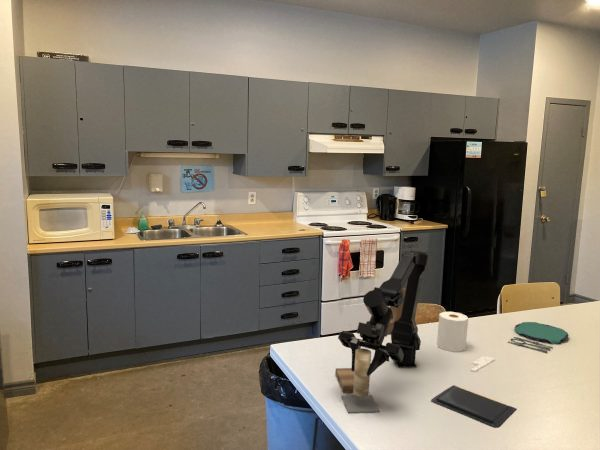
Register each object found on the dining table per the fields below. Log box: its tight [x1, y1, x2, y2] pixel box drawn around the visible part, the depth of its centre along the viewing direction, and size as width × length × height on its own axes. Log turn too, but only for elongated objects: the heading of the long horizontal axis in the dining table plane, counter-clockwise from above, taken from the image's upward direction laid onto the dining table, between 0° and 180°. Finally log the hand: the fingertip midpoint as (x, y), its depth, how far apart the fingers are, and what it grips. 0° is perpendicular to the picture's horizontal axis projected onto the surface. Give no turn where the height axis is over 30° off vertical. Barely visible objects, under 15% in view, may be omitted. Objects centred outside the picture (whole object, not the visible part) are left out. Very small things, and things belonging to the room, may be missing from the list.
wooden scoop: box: [387, 287, 406, 335], centre depth 195 cm, size 9×4×18 cm, turn 119°
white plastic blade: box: [469, 355, 496, 373], centre depth 168 cm, size 5×15×1 cm, turn 133°
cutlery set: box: [507, 321, 569, 354], centre depth 195 cm, size 20×30×2 cm, turn 137°
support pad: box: [341, 394, 381, 414], centre depth 138 cm, size 9×9×1 cm
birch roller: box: [352, 347, 372, 397], centre depth 137 cm, size 4×4×12 cm
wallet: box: [430, 385, 518, 429], centre depth 140 cm, size 20×2×15 cm
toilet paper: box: [436, 311, 469, 353], centre depth 182 cm, size 10×10×12 cm
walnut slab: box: [334, 367, 354, 394], centre depth 151 cm, size 12×7×2 cm, turn 7°
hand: (360, 373), depth 135 cm, fingers closed on birch roller, 4 cm apart
